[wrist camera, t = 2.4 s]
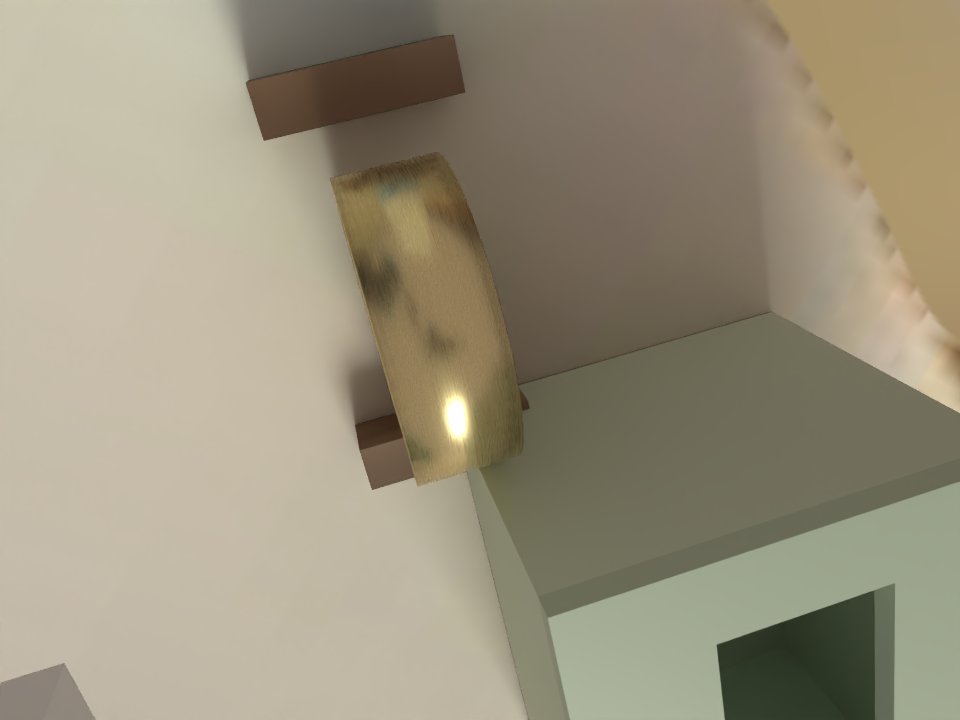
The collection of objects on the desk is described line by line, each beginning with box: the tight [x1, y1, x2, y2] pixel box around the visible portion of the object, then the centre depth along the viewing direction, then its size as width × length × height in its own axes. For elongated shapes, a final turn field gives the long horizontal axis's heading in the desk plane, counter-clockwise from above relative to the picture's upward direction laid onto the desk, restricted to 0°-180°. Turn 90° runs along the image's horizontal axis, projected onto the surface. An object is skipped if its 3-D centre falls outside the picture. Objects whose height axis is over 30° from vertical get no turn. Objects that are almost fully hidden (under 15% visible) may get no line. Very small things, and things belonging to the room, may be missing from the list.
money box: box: [467, 312, 960, 720], centre depth 28 cm, size 17×13×12 cm
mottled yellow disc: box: [330, 152, 524, 486], centre depth 23 cm, size 3×9×9 cm, turn 12°
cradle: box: [246, 35, 530, 490], centre depth 26 cm, size 14×6×2 cm, turn 12°
